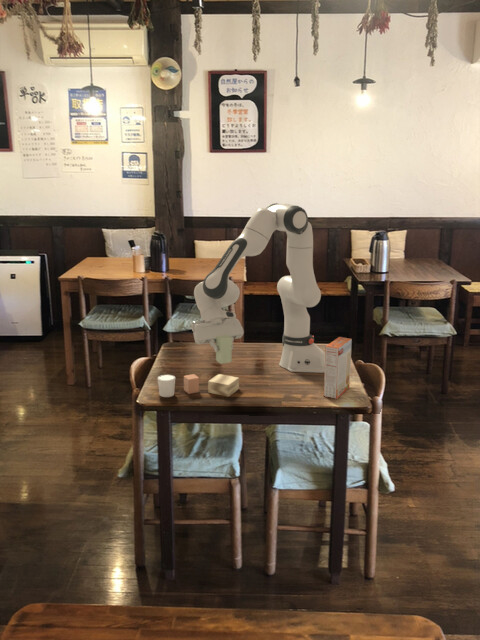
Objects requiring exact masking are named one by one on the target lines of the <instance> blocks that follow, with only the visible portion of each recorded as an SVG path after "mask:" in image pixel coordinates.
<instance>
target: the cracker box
mask: <svg viewBox="0 0 480 640" xmlns="http://www.w3.org/2000/svg"><path fill="white" fill-rule="evenodd" d="M352 343H353V341H352V338H347V337H343V336H338V337H337V338H335V339H334V340H333V341H331V342H330V343H328V344H326V345H325V350H324V353H325V373H323V374H324V376H323V378H324V379H323V397H324V396H325V398H328V397H331V398H330V399H333V398H335V399H334V400H338V399H339V398H340V397H341V396H342V395H343V394H344V393H346V391H347V390H349V389H350V380H351V360H352ZM337 398H338V399H337Z"/></svg>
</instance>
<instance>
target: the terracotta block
mask: <svg viewBox="0 0 480 640" xmlns="http://www.w3.org/2000/svg"><path fill="white" fill-rule="evenodd" d="M183 391H184V392H186V393H187V395H190V394H195V393H196V394H197V393H200V377H199V376H197V374H195V373H192V374H187V375H184V376H183Z"/></svg>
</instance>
